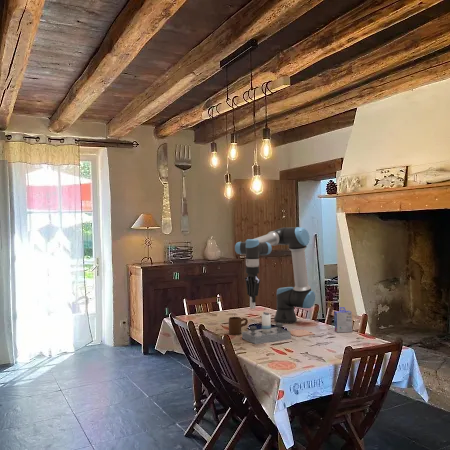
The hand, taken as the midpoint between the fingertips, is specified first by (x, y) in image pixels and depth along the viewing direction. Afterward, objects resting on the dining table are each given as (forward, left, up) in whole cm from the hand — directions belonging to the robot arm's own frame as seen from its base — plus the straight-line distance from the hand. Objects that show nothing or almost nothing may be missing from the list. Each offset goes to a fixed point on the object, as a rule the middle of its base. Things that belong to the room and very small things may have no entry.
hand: (252, 308), depth 254 cm
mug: (-20, +2, -19) cm, 28 cm away
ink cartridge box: (+8, +60, -19) cm, 64 cm away
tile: (0, +33, -19) cm, 38 cm away
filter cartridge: (0, +9, -19) cm, 21 cm away
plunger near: (0, 0, -16) cm, 16 cm away
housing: (0, +9, -19) cm, 21 cm away
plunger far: (0, +18, -16) cm, 24 cm away
